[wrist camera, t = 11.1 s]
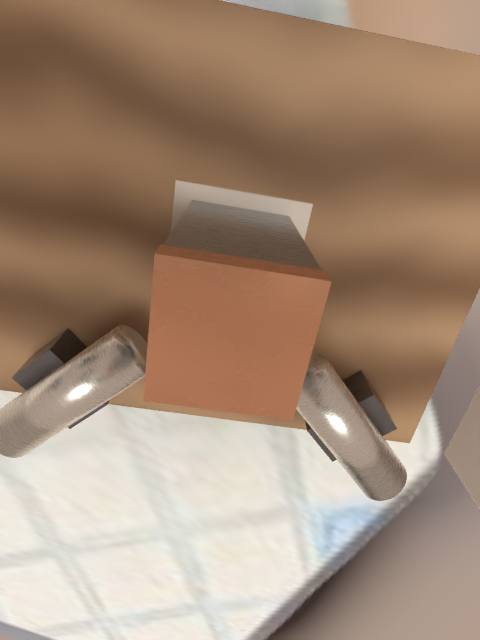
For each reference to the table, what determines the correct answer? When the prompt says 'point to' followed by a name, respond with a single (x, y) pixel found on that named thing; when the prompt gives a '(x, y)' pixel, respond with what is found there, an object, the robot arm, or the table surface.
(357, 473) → the shaft
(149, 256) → the cradle board
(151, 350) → the block
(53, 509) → the table surface
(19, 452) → the shaft
